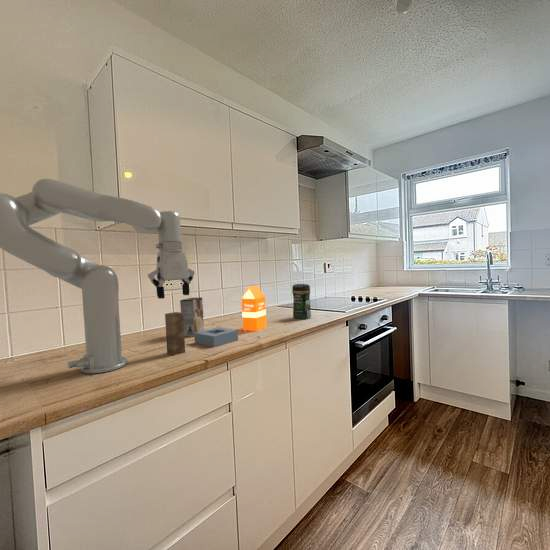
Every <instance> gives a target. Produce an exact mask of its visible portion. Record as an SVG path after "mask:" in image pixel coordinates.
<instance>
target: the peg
mask: <svg viewBox="0 0 550 550" xmlns="http://www.w3.org/2000/svg"><path fill="white" fill-rule="evenodd" d="M164 319H165V321H164V322H165V323H164V324H165V335H166V336H165V338H166V341H165V342H166V353H167V355H171V356H177V354H178V355H181V354H184V353H186V341H185V336H184V319H183V313H181V311H180V312H179V311H174V312H169V313H164Z"/></svg>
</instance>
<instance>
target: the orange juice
mask: <svg viewBox="0 0 550 550" xmlns="http://www.w3.org/2000/svg"><path fill="white" fill-rule="evenodd" d="M266 308H267V307H266V296H265V295H264V294H263V292H262V290H261V289H260V287H259V285H251V286H247V288H246V290H245V292H244V294H243V296H242V298H241V315H242V317H241V318H242V330H243V331H246V330H249V331H248V332H259V331H261V330H263V328H264V329H266V328H267V310H266ZM258 330H259V331H258Z"/></svg>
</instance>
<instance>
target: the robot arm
mask: <svg viewBox="0 0 550 550" xmlns="http://www.w3.org/2000/svg"><path fill="white" fill-rule="evenodd" d="M31 190H32V191H31V192H28V193H25V194H23V195H20V196H17V197H14V196H13V195H10V194H8V193H3V192H0V249H1V250H2V251H5V252H7V253H8V254H9V255H12V256H14V257H16V258H18V259H19V260H22V261H24V262H26V263H27V264H30V265H32V266H34V267H36V268H37V269H39V270H42V271H44V272H46V273H47V274H48V275H50V276H52V277H54V278H56V279H57V278H58V279H59V280H61V281H63V282H65V283H68V284H70V285H72V286H74V287H76V288H78V289H81V295H82V297H81V298H82V313H83V322H84V323H83V324H84V338H85V339H84V340H85V354H82V357H81V358H79V359H75V360H71V361H68V362H67V368H68V369H73V368H76V369H79V368H80V371H81V373H84V374H101V373H106V372H111V371H114V370H119V369H120V368H123V367H124V366H127V364H128V361H129V360H128V358H127V357H124V356H123V355H122V353H123V352H122V340H121V339H122V337H121V336H122V335H121V323H120V322H121V320H120V319H121V318H120V307H119V305H120V304H119V302H120V301H119V291H120V289H119V278H118V275H117V273H116V271H114V270H113V269H112V268H111V267H109V266H107V265H104V264H98V263H97V262H95V261H93V260H91V259H90V258H87V257H85V256H84V255H82V254H80V253H78V252H77V251H76V250H74V249H73V248H71V247H69V246H65V245H63V244H61V243H59V242H57V241H55V240H53V239H51V238H50V237H48V236H45V235H44V234H42V233H40V232H39V231H37V230H35V229H33V228H31V227H30V226H31V225H35V224H37V223H39V222H42V221H44V220H47V219H49V218H52V217H54V216H56V215H59V214H61V213H63V214H67V215H69V216H73V217H79V218H82V219H85V220H89V221H93V222H98V223H99V222H114V223H120V224H126V225H129V226H132V228H133V229H134V230H135V231H136V232H137V233H138V234H142V235H143V234H144V235H146V234H148V235H149V234H155V233H156V234H157V235H158V243H157V244H155V248H156V249H158V252H157V256H156V269H154V270H153V271H151V272H150V273H148V274H147V277H148V279H149V280H150V283H152V285H154V287H155V288H156V296H157V298H158V299H165V287H164V286H163V285H164V284H165V282H166V281H168V282H169V281H179V280H180V281H181V282H182V284H181V285H182V286H181V288H182V295H183V296H189V295H190V284H191V282H192V281H193V278H194V275H195V271H194V270H192V269H191V268H189V266H188V259H187V255H186V253H185V251H183V244H182V243H183V242H182V228H181V227H182V226H181V216H180V214H179V213H178V212H177V211H173V210H171V211H170V210H166V211H164V210H163V211H159V210H157V209H156V208H154V207H152V206H151V205H148V204H145V203H141V202H138V201H136V200H135V201H134V200H131V199H127V198H123V197H117V196H114V195H113V196H111V195H107V194H102V193H98V192H95V191H92V190H88V189H86V188H82V187H79V186H75V185H72V184H70V183H66V182H62V181H59V180H56V179H53V178H41V179H39V180H37V181H36V182H35V183H34V184H33V186H32V189H31ZM155 276H156V277H155ZM156 278H157V279H156Z"/></svg>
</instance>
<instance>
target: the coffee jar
mask: <svg viewBox="0 0 550 550" xmlns="http://www.w3.org/2000/svg"><path fill="white" fill-rule="evenodd" d="M310 287H311V286H310V285H309V283H308V284H305V283H297V284H293V285H292V287H291V288H292V291H291V293H292V297H293V304H292V305H293V308H292V309H293V311H292V312H293V314H292V316H293V318H294V319H299V320H305V319H310V318H312V310H311V309H312V308H311V301H310V299H311V298H310V297H311V296H310V294H311V288H310Z"/></svg>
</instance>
